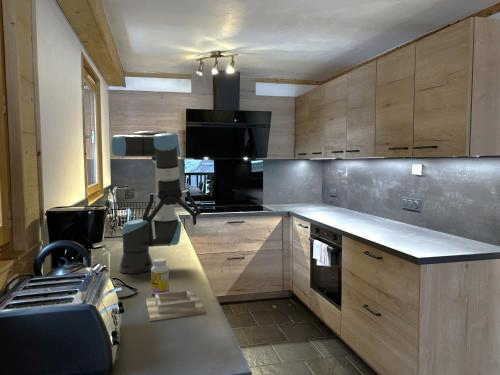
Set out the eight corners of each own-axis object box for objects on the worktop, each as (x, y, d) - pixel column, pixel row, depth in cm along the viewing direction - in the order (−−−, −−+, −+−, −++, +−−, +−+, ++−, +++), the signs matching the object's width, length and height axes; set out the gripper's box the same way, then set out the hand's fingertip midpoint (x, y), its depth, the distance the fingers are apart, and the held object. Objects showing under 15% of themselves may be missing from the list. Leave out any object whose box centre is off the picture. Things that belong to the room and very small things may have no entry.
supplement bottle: (148, 292, 146) (147, 259, 145) (163, 288, 151) (162, 256, 150) (157, 297, 141) (156, 263, 141) (172, 292, 146) (171, 259, 145)
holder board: (145, 301, 137) (145, 292, 136) (195, 295, 143) (195, 286, 142) (149, 320, 120) (149, 310, 120) (205, 313, 126) (205, 303, 125)
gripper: (130, 184, 125) (137, 243, 131) (205, 178, 131) (209, 235, 136) (131, 179, 132) (138, 235, 138) (203, 173, 138) (206, 227, 143)
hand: (173, 235), depth 137 cm, fingers open, 13 cm apart
